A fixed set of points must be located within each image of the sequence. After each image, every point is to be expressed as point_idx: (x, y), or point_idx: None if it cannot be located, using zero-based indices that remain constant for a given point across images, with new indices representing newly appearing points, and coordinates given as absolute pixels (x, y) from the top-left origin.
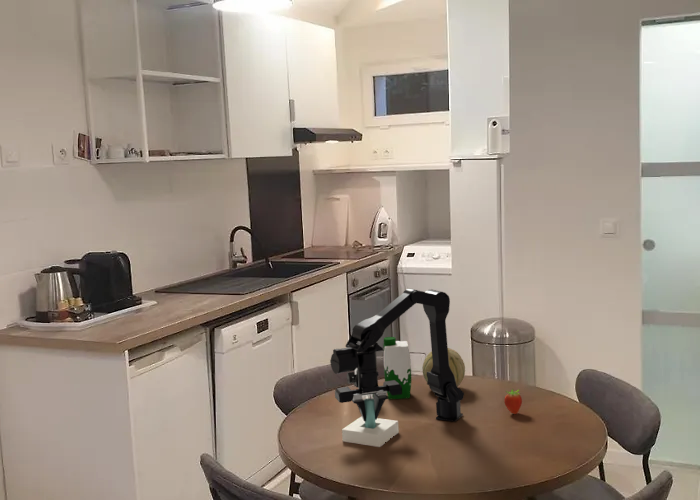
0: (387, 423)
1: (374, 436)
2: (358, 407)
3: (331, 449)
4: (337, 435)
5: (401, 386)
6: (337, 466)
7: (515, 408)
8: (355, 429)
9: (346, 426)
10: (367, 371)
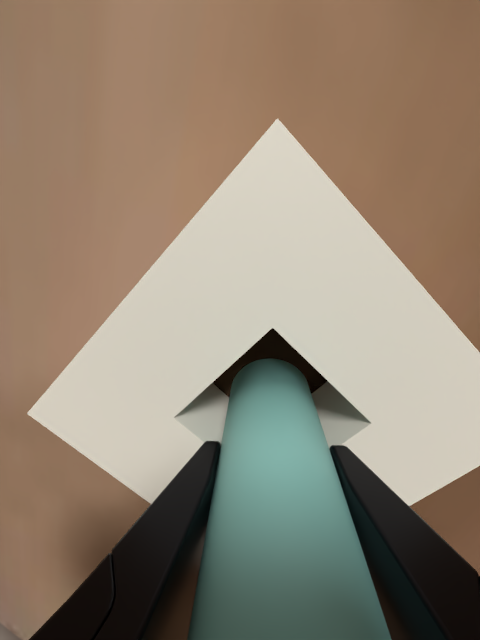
0: (422, 445)
1: None
2: (72, 619)
3: (23, 442)
4: (59, 255)
5: None
6: (49, 588)
7: None
8: (132, 453)
9: (66, 368)
10: None
